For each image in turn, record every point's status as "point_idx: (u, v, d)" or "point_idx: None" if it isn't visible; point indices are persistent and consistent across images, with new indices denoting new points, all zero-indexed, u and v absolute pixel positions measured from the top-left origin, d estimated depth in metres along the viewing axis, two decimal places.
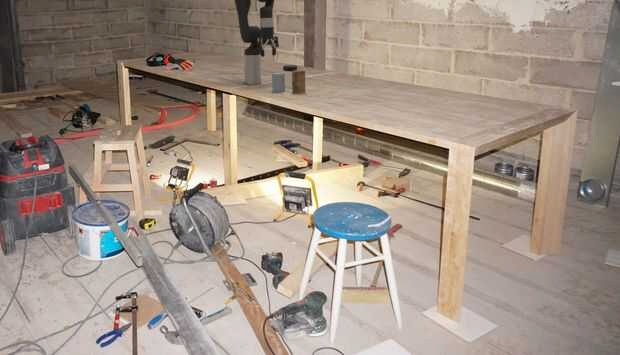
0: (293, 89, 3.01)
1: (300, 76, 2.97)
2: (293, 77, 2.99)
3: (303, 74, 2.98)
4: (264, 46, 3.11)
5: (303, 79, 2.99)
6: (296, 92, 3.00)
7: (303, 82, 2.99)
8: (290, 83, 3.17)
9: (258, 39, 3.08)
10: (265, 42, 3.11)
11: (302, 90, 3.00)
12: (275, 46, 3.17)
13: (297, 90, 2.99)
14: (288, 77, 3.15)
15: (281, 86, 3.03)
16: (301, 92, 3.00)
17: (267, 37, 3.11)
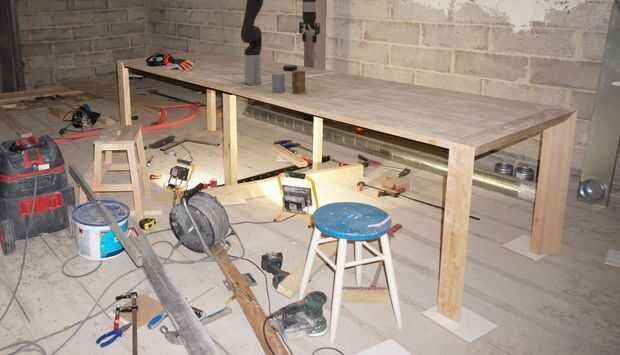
0: (293, 89, 3.01)
1: (300, 76, 2.97)
2: (293, 77, 2.99)
3: (303, 74, 2.98)
4: (315, 31, 3.00)
5: (303, 79, 2.99)
6: (296, 92, 3.00)
7: (303, 82, 2.99)
8: (290, 83, 3.17)
9: (318, 24, 2.95)
10: (315, 27, 2.99)
11: (302, 90, 3.00)
12: None
13: (297, 90, 2.99)
14: (288, 77, 3.15)
15: (281, 86, 3.03)
16: (301, 92, 3.00)
17: None
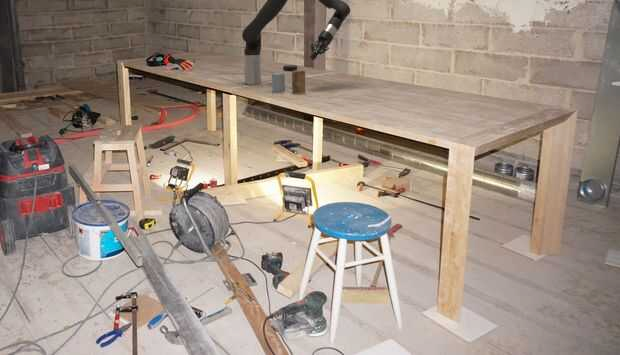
0: (293, 89, 3.01)
1: (300, 76, 2.97)
2: (293, 77, 2.99)
3: (303, 74, 2.98)
4: None
5: (303, 79, 2.99)
6: (296, 92, 3.00)
7: (303, 82, 2.99)
8: (290, 83, 3.17)
9: (327, 48, 3.01)
10: (322, 49, 3.05)
11: (302, 90, 3.00)
12: None
13: (297, 90, 2.99)
14: (288, 77, 3.15)
15: (281, 86, 3.03)
16: (301, 92, 3.00)
17: None
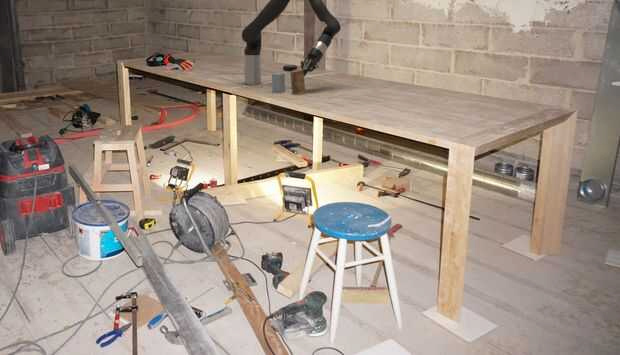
0: (293, 89, 3.01)
1: (299, 76, 2.97)
2: (292, 77, 2.98)
3: (302, 74, 2.97)
4: None
5: (302, 79, 2.98)
6: (296, 92, 3.00)
7: (302, 81, 2.99)
8: (290, 83, 3.17)
9: (316, 65, 2.99)
10: None
11: (302, 90, 3.00)
12: None
13: (297, 90, 2.99)
14: (288, 77, 3.15)
15: (281, 86, 3.03)
16: (301, 92, 3.00)
17: None
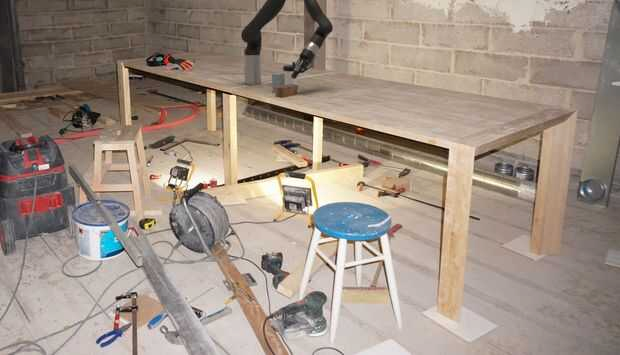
0: None
1: (285, 93, 2.92)
2: None
3: (283, 89, 2.91)
4: None
5: (287, 89, 2.93)
6: None
7: (289, 88, 2.94)
8: (290, 83, 3.17)
9: (308, 67, 2.95)
10: None
11: (296, 89, 2.97)
12: None
13: None
14: (288, 77, 3.16)
15: None
16: (297, 90, 2.98)
17: None
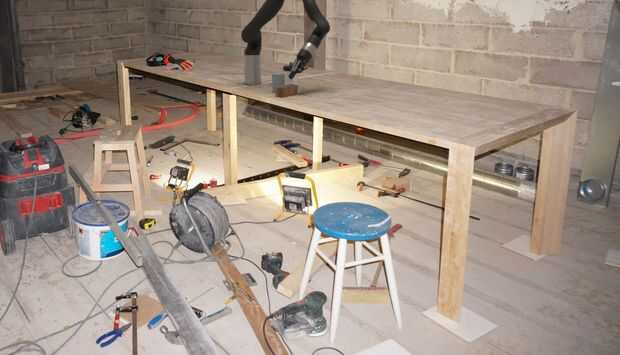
0: None
1: (285, 93, 2.92)
2: None
3: (283, 89, 2.91)
4: None
5: (287, 89, 2.93)
6: None
7: (289, 88, 2.94)
8: (290, 83, 3.17)
9: (305, 67, 2.93)
10: None
11: (296, 89, 2.97)
12: None
13: None
14: (288, 77, 3.15)
15: None
16: (297, 90, 2.98)
17: None
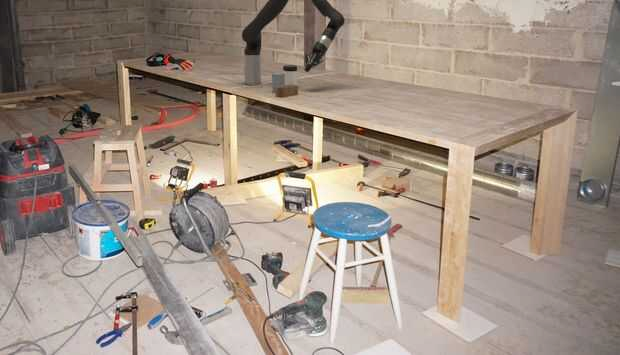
0: None
1: (285, 93, 2.92)
2: None
3: (283, 90, 2.91)
4: None
5: (287, 89, 2.93)
6: None
7: (289, 88, 2.94)
8: (290, 83, 3.17)
9: (321, 60, 3.01)
10: None
11: (296, 89, 2.97)
12: None
13: None
14: (288, 77, 3.15)
15: None
16: (297, 90, 2.98)
17: None
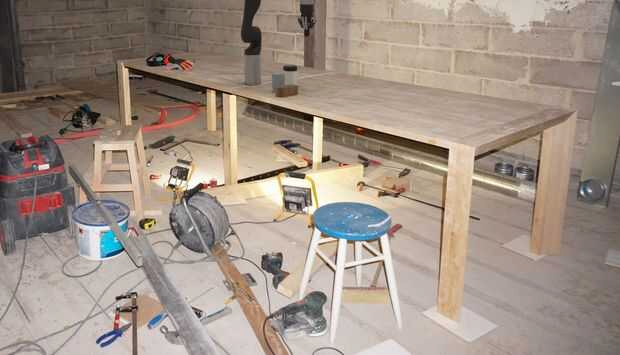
0: None
1: (285, 93, 2.92)
2: None
3: (284, 90, 2.91)
4: (309, 25, 3.02)
5: (287, 89, 2.93)
6: None
7: (289, 88, 2.94)
8: (290, 83, 3.17)
9: (314, 21, 2.97)
10: None
11: (296, 89, 2.97)
12: None
13: None
14: (288, 77, 3.15)
15: None
16: (297, 90, 2.98)
17: None
